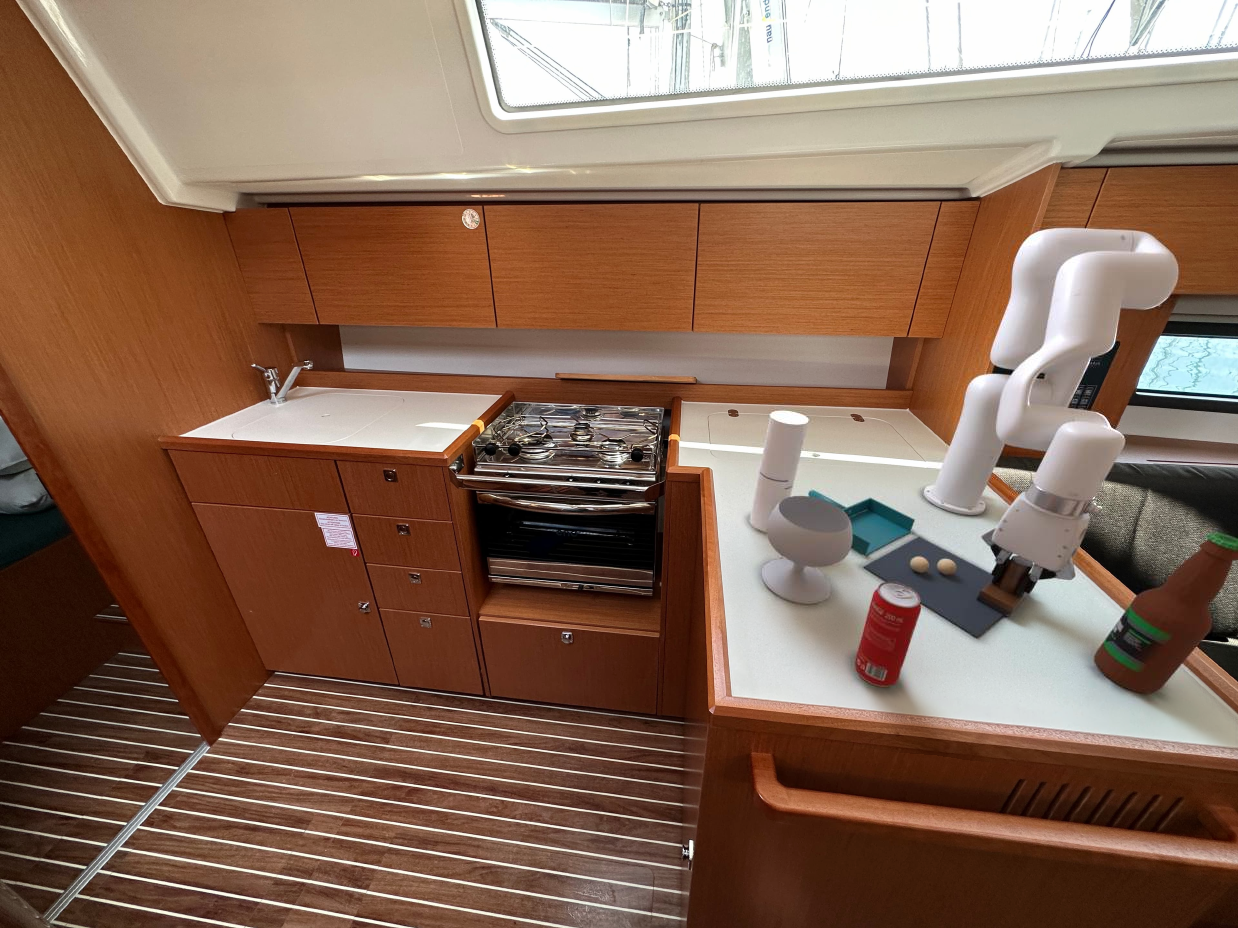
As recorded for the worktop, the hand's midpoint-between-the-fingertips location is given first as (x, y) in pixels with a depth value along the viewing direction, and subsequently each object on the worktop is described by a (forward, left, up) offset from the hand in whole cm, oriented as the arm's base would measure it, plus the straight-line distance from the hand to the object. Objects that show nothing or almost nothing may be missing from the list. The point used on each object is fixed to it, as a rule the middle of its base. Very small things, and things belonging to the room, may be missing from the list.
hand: (1008, 586), depth 83 cm
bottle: (+2, +17, -3) cm, 17 cm away
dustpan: (+2, -30, -3) cm, 30 cm away
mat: (+4, -8, -3) cm, 10 cm away
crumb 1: (+6, -12, -1) cm, 14 cm away
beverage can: (+35, -3, -3) cm, 36 cm away
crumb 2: (+2, -9, -1) cm, 9 cm away
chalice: (+29, -22, -3) cm, 37 cm away
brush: (0, 0, -3) cm, 3 cm away
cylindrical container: (+19, -38, -3) cm, 43 cm away
